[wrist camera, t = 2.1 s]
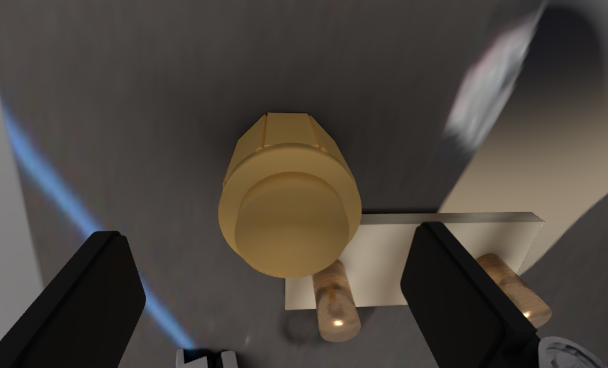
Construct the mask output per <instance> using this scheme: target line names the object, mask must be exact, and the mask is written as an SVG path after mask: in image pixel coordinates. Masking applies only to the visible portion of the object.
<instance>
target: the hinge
mask: <svg viewBox="0 0 608 368" xmlns="http://www.w3.org/2000/svg"><path fill="white" fill-rule="evenodd" d="M176 368H213V366H212V360H209V361H207V357H206V356H205V357H203V358H200V359H197V360H194V361H192V362H189V363H186V364H184V353H183V349H177V357H176ZM216 368H238V366H237V361H236V355H235V352H234V351H225V352H222V353H221V357H220V358H217V362H216Z"/></svg>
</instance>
